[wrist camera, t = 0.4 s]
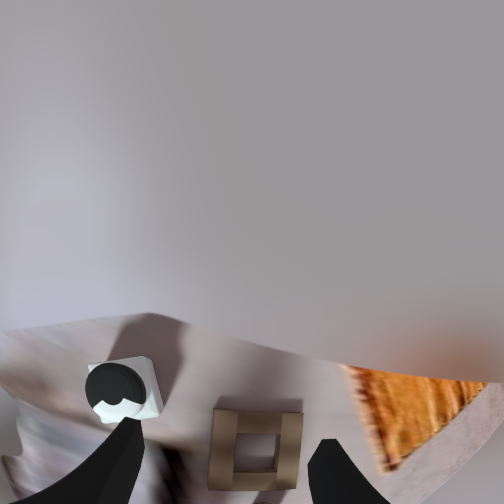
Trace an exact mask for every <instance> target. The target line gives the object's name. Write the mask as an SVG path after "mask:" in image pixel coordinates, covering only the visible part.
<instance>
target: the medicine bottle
mask: <svg viewBox="0 0 504 504" xmlns="http://www.w3.org/2000/svg"><path fill="white" fill-rule="evenodd" d="M88 368H89V373H90V374H89V375H88V377H87V380H86V385H85V391H86V397H87V400H88V402H89V404H90V406H91V407H92V409H93V410H94V411H95V412H96V413H97V414H98V415H100V418H101V421H102V422H103V423H114V422H121V421H122V419H123V418H124V417H130V418H133V419H137V420H138V419H145V418H152V417H158V416H159V415H160V414H161V412H162V411H163V409H164V405H163V402H162V398H161V395H160V391H159V387H158V383H157V380H156V376H155V372H154V368H153V363H152V360H150V359H149V358H147V357H145V356H138V357H132V358H126V359H119V360H112V361H105V362H98V363H91V364H89V365H88Z"/></svg>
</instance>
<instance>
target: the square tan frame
mask: <svg viewBox="0 0 504 504" xmlns="http://www.w3.org/2000/svg"><path fill="white" fill-rule="evenodd" d="M303 414H304V413H300V412H257V411H239V410H226V409H215V408H213V419H212V430H211V443H210V455H209V468H208V482H207V486H208V490H219V491H270V490H286V489H296V485H297V476H298V467H299V458H300V448H301V438H302V426H303ZM236 433H245V434H276V443H275V454H274V464H273V469H233V467H234V456H235V444H236Z"/></svg>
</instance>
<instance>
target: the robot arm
mask: <svg viewBox="0 0 504 504" xmlns="http://www.w3.org/2000/svg"><path fill="white" fill-rule="evenodd" d="M144 449H145V445H144V439H143V433H142V427H141V420H137V419H133V418H130V417H124V418H123V419H122V421H121V422H120V423H119V424H118V426H117V427H116V428H115V429H114V431H113V432H112V433H111V434H110V435H109V436H108V438H107V439H106V440H105V441H104V442H103V443H102V444H101V445H100V446H99V447H98V448H97V449H96V450H95V451H94V452H93V453H92V454H91V455H90V456H89V457H88V458H87V459H86V460H85V461H84V462H83V463H81V464H80V465H79V466H78V467H77V468H76V469H74V470H73V471H72V472H71V473H69V474H68V475H66V476H65V477H64V478H62V479H61V480H59V481H58V482H56V483H54V484H53V485H51V486H49V487H48V488H46V489H44V490H42V491H40V492H38V493H36V494H34V495H31V496H29V497H27V498H24V499H22V500H19V501H16V502H13V503H9V504H128V502H129V499H130V496H131V493H132V491H133V488H134V485H135V482H136V479H137V476H138V473H139V471H140V468H141V463H142V459H143V454H144ZM308 478H309V487H310V491H311V496H312V500H313V504H390V503H389V502H388V501H387V500H386V499H385V498H384V497H383V496H382V495H381V494H380V493H379V492H378V491H377V490H376V489H375V488H374V487H373V486H372V485H371V484H370V483H369V482H368V481H367V479H366V478H365V477H364V476H363V474H362V473H361V472H360V471H359V470H358V468H357V467H356V466H355V464H354V463H353V462H352V460H351V459H350V458H349V456H348V455H347V454H346V452H345V451H344V449H343V448H342V446H341V445H340V444H339V442H338V441H337V440H336V439H322V440H321V442H320V444H319V446H318V447H317V449H316V451H315V453H314V454H313V456H312V458H311V459H310V461H309V463H308Z"/></svg>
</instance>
